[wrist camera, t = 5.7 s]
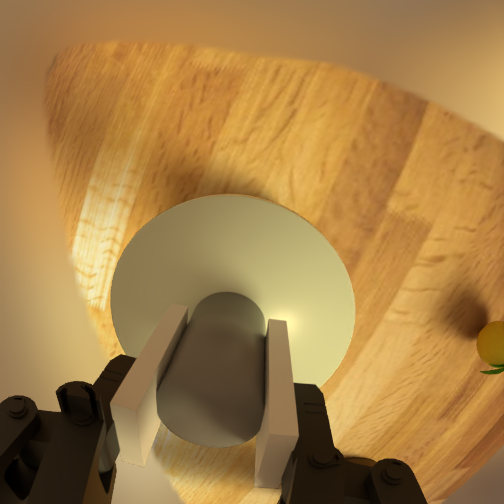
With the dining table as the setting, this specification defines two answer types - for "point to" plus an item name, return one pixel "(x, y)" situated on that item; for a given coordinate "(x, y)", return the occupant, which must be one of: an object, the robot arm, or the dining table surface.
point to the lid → (231, 308)
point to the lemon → (492, 346)
